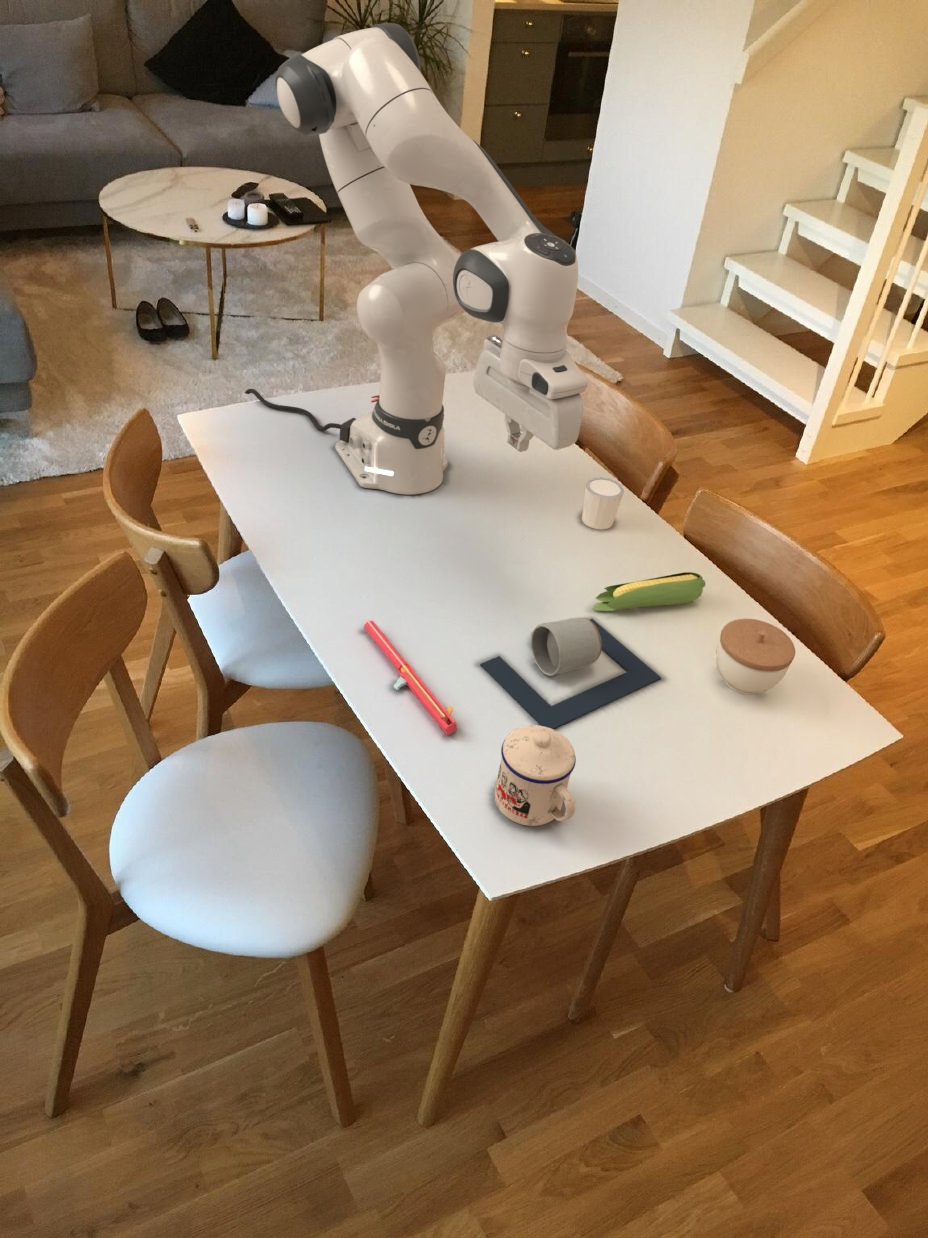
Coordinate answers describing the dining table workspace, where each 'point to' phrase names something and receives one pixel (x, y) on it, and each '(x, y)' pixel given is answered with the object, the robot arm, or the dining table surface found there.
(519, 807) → the teacup with lid
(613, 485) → the white faceted cylinder
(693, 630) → the dining table surface
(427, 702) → the red striped bar
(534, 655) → the ceramic mug
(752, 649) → the trinket box
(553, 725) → the dark grey flat piece
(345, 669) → the dining table surface
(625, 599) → the edible corn
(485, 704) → the dining table surface
